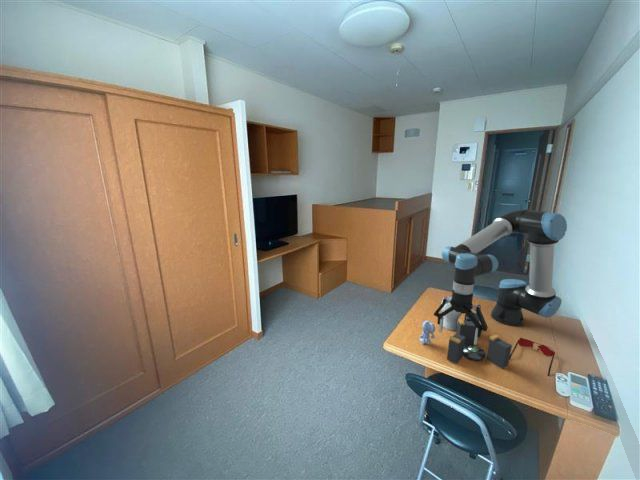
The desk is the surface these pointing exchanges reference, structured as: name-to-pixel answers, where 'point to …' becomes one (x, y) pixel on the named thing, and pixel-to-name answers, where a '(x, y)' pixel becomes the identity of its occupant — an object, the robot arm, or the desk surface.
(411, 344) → the desk surface
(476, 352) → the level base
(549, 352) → the glasses
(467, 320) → the box
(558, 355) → the desk surface
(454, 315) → the cup
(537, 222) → the robot arm
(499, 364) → the dark grey tan-ended block
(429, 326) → the toy figurine
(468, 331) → the grey tan block
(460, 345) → the dark grey block
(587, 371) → the desk surface
